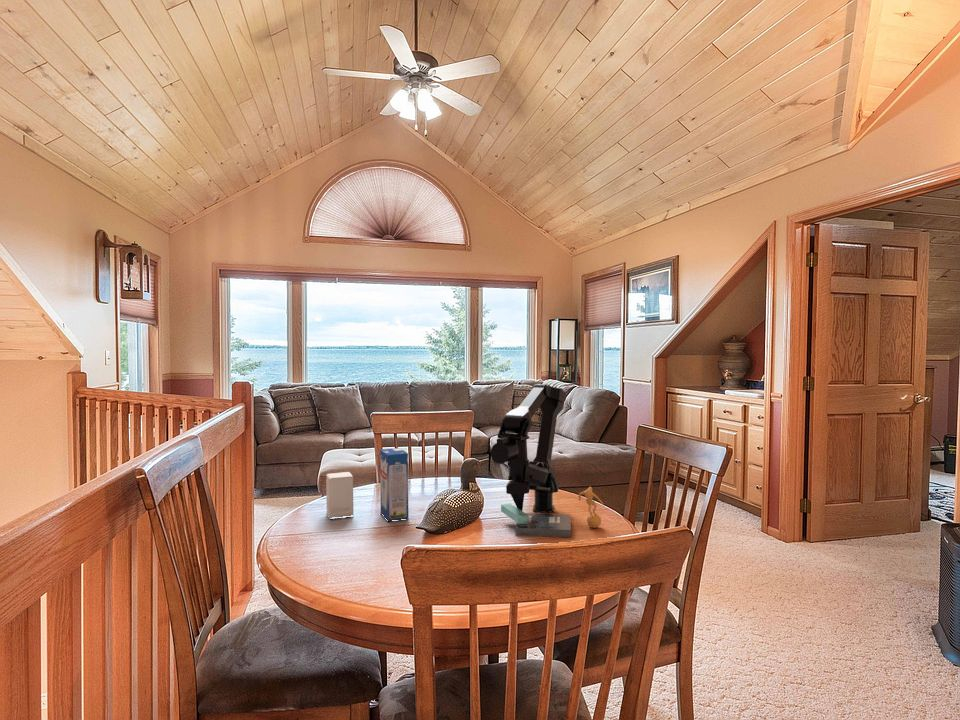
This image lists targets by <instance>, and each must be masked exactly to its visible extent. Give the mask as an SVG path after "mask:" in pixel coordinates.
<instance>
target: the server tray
mask: <svg viewBox="0 0 960 720" xmlns="http://www.w3.org/2000/svg"><path fill="white" fill-rule="evenodd" d="M525 513H526V514H527V515H528V524H519V523H517V522H515V523H516V524H515V536H529V537H531V536H532V537H549V538H550V537H552V538H553V537H554V538H556V537H557V538H571V537H572V523H571V514H570V513H569V514H565V513H564V514H563V513H544V512H539V513H538V512H536V513H535V512H525Z"/></svg>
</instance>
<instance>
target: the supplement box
mask: <svg viewBox="0 0 960 720" xmlns="http://www.w3.org/2000/svg"><path fill="white" fill-rule="evenodd" d="M325 482H326V486H325V488H326V515H327V514H328V515H327V517H328V516H329V518H332V517H343V516H351V515H353V516H354V476H353V474H352V473H351V472H350V471H344V472H343V471H342V472H334V473H333V472H331V473H326V479H325ZM329 518H328V519H329Z"/></svg>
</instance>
